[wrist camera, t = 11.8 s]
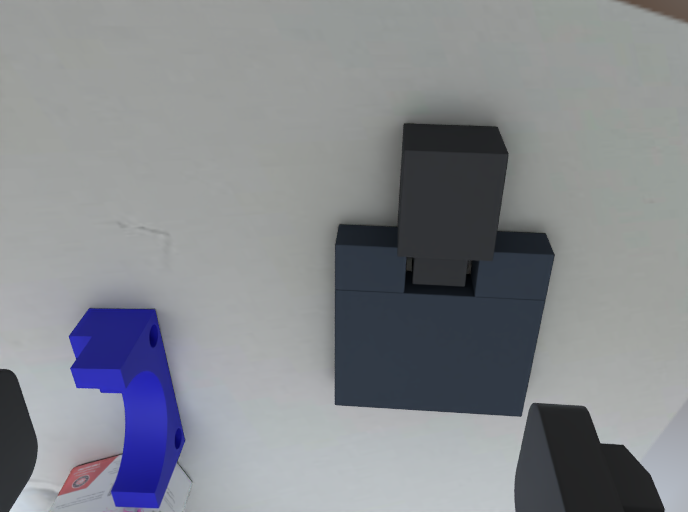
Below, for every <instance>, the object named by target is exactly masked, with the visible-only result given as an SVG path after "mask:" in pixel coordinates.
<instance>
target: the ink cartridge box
mask: <svg viewBox="0 0 688 512" xmlns="http://www.w3.org/2000/svg"><path fill="white" fill-rule="evenodd" d="M121 459H122V455H118V456H115V457H111V458H107V459H103V460H100V461H96V462H92V463H88V464H85V465H81V466H78V467H75V468H73V469H72V471H71V472H70V474H69V476H68V478H67V480H66V482H65V483H64V485H63V487H62V489H61V491H60V492H59V494H58V496H57V498H56V500H55V501H54V503H53V505H52V507H51V509H50V511H49V512H183V510H184V507H185V504H186V501H187V498H188V495H189V492H190V489H191V486H192V482H191V480H190V479H189V478H188V476H187V475H186V474H185V472H184V471H183V470H182V469H181V467H180V466H179V465H178V464H177V463H176V466H175V468H174V471H173V474H172V476H171V479H170V481H169V484H168V486H167V489H166V492H165V494H164V497H163V499H162V502H161V504H160V507H159V508H135V507H116V506H115V503H114V500H113V497H112V494H111V490H112V487H113V485H114V483H115V480H116V477H117V474H118V471H119V467H120V463H121Z"/></svg>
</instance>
